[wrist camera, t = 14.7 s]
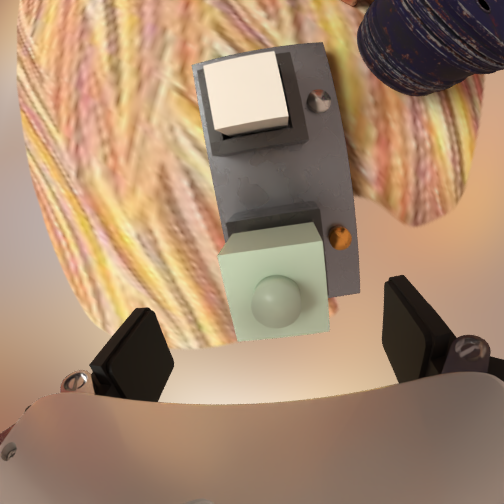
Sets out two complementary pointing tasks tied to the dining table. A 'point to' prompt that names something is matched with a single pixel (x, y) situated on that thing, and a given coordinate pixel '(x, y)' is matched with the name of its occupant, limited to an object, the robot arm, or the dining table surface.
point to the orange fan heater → (350, 2)
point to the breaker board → (290, 164)
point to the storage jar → (431, 42)
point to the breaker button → (246, 94)
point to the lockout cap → (276, 282)
